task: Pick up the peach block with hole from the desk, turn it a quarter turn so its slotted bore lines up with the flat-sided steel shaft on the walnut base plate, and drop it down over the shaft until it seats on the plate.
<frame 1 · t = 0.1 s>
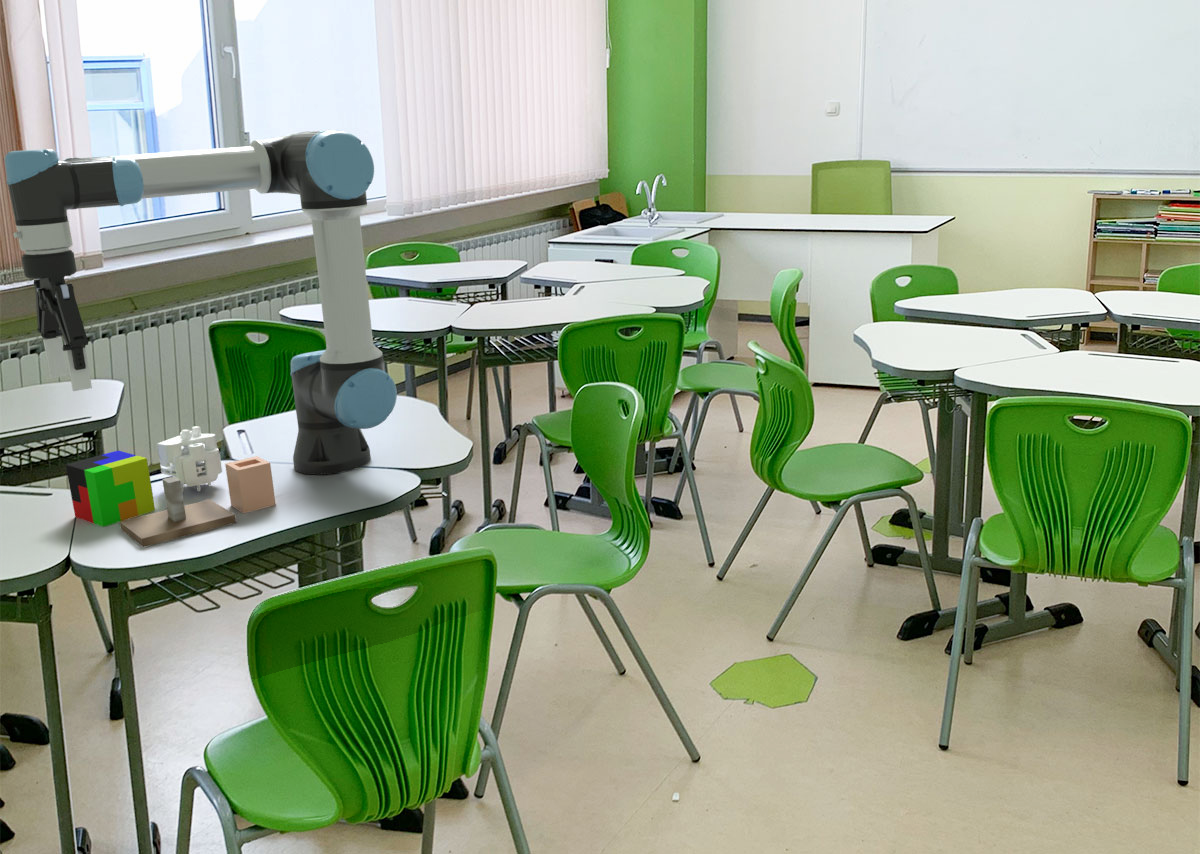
hand: (70, 383, 189), 28 cm above the table, fingers open, 13 cm apart
mechanical part: (194, 488, 224), on the table
shaft plate: (178, 526, 203), on the table
puzzle toy: (115, 515, 212), on the table
peach block with hole: (253, 505, 212), on the table
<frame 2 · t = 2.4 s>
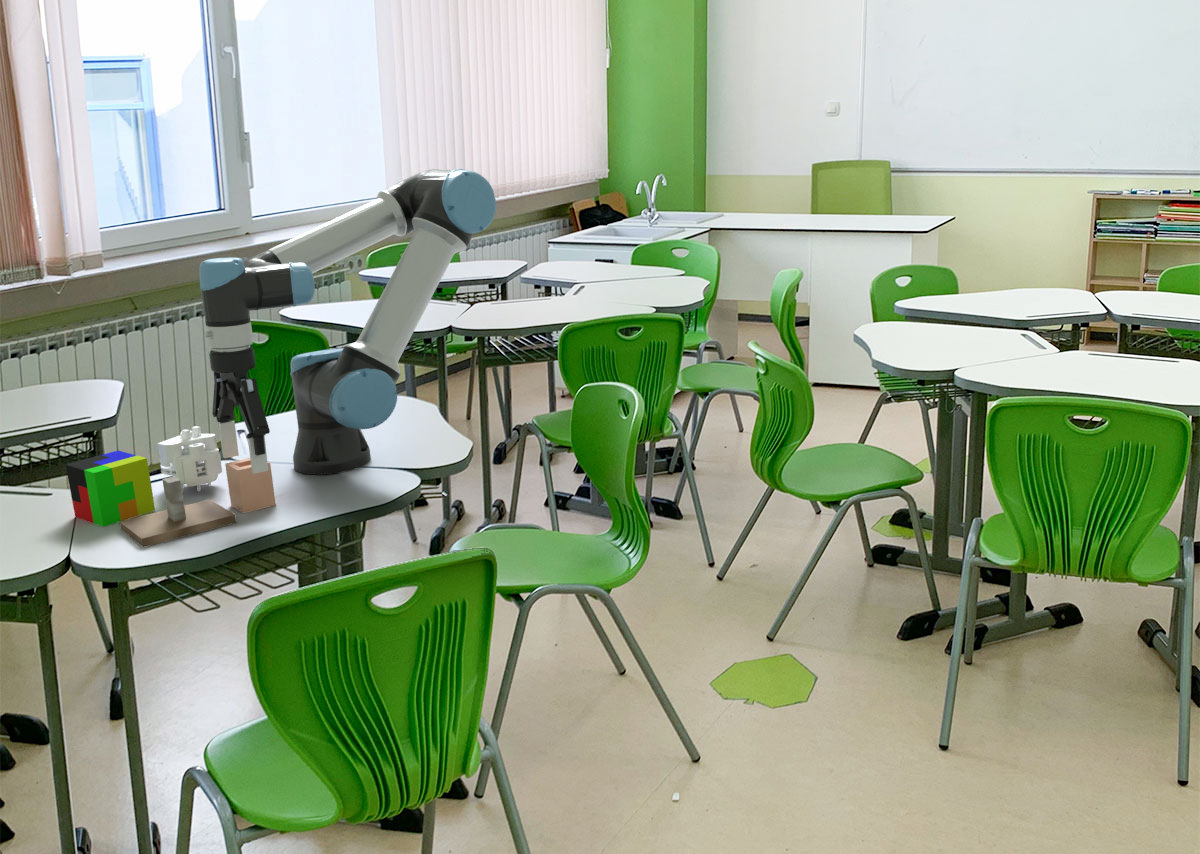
hand: (245, 464, 210), 8 cm above the table, fingers open, 13 cm apart
nothing on the table moved.
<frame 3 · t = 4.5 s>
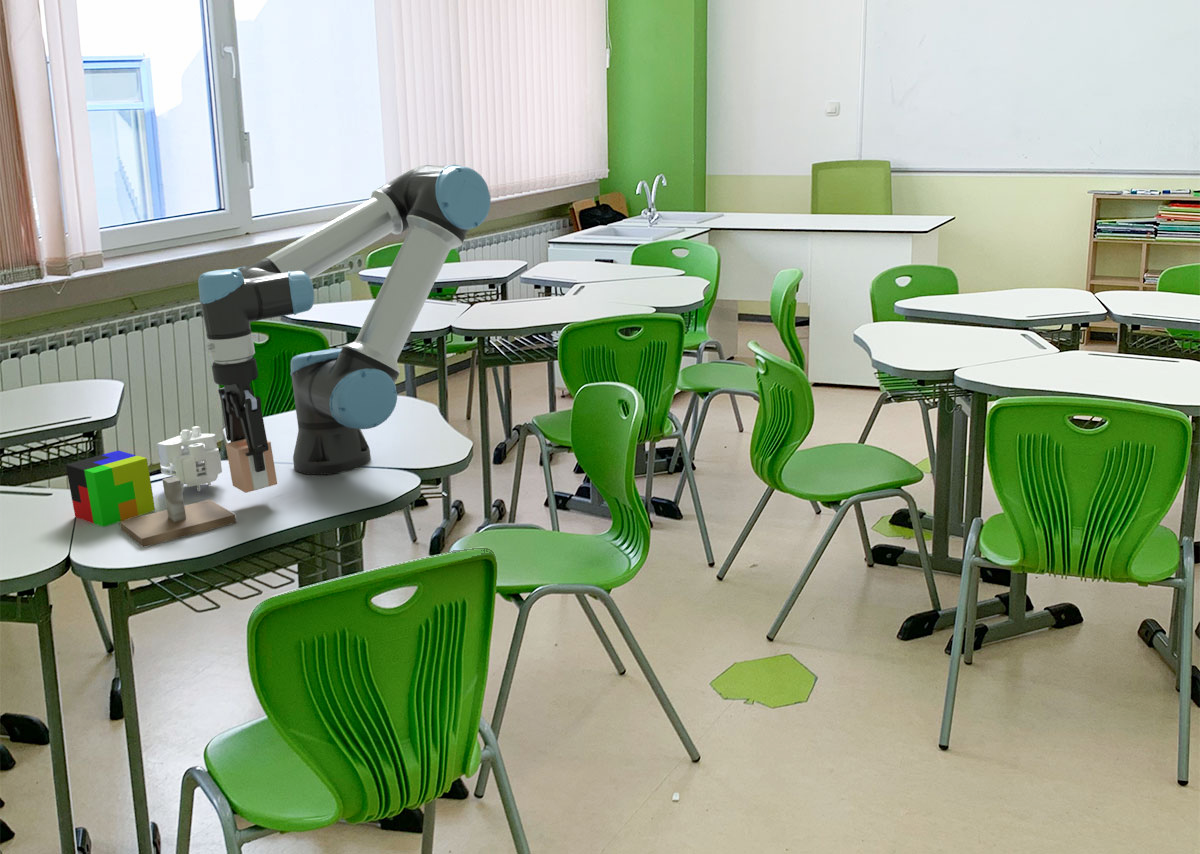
hand: (253, 483, 211), 4 cm above the table, fingers closed on peach block with hole, 6 cm apart
peach block with hole: (255, 484, 212), point 4 cm above the table, touching gripper
everything else where it was.
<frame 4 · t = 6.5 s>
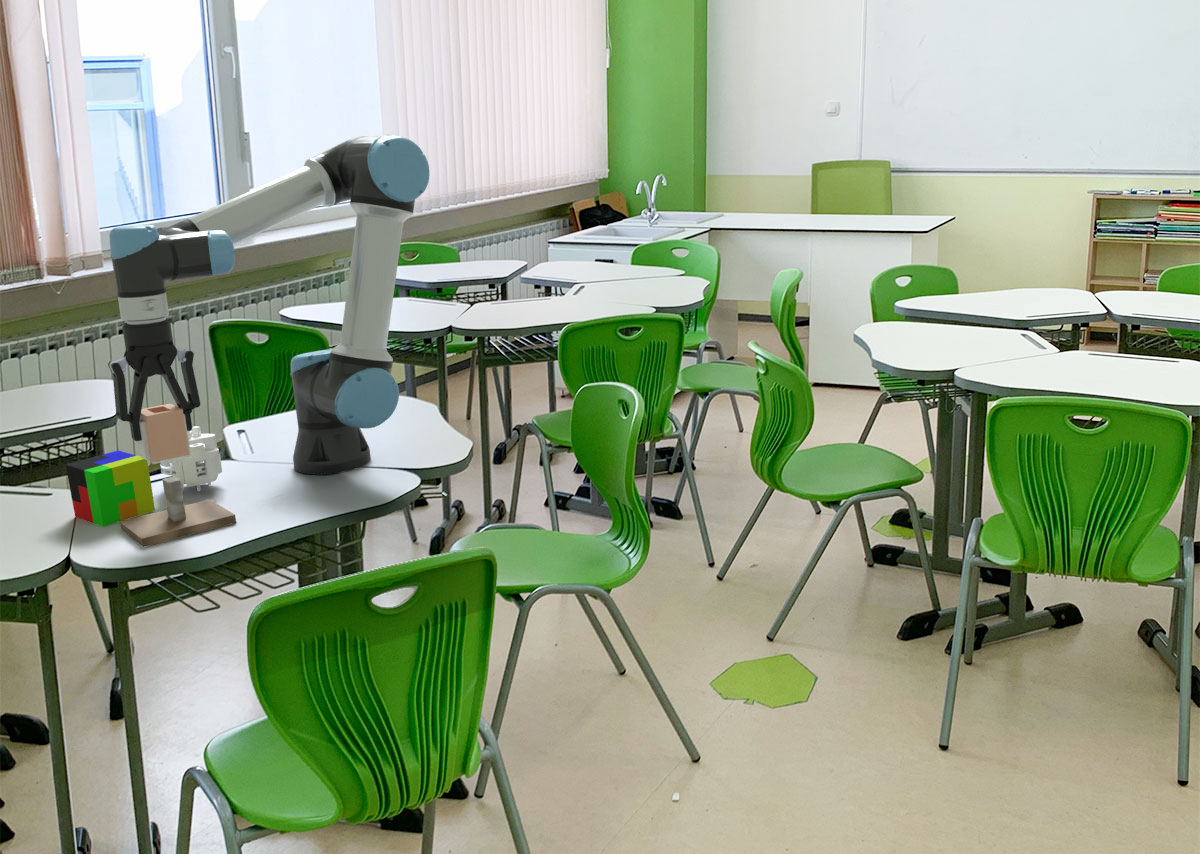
hand: (165, 453, 199), 13 cm above the table, fingers closed on peach block with hole, 6 cm apart
peach block with hole: (165, 455, 200), point 13 cm above the table, touching gripper
everything else where it was.
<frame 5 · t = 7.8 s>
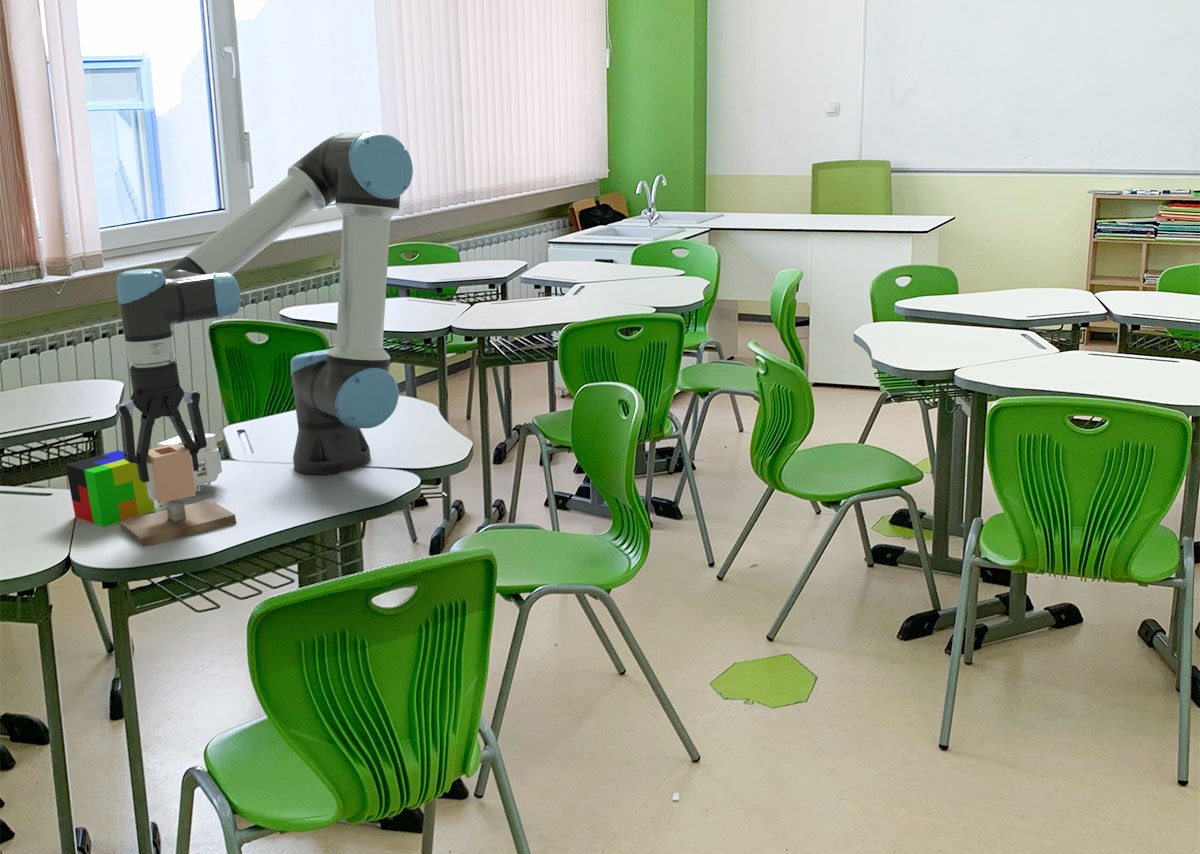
hand: (172, 493, 201), 6 cm above the table, fingers closed on peach block with hole, 6 cm apart
peach block with hole: (172, 495, 202), point 6 cm above the table, touching gripper
everything else where it was.
when the fingers open (4 cm above the table, at t = 8.6 s): peach block with hole drops 2 cm, resting on shaft plate.
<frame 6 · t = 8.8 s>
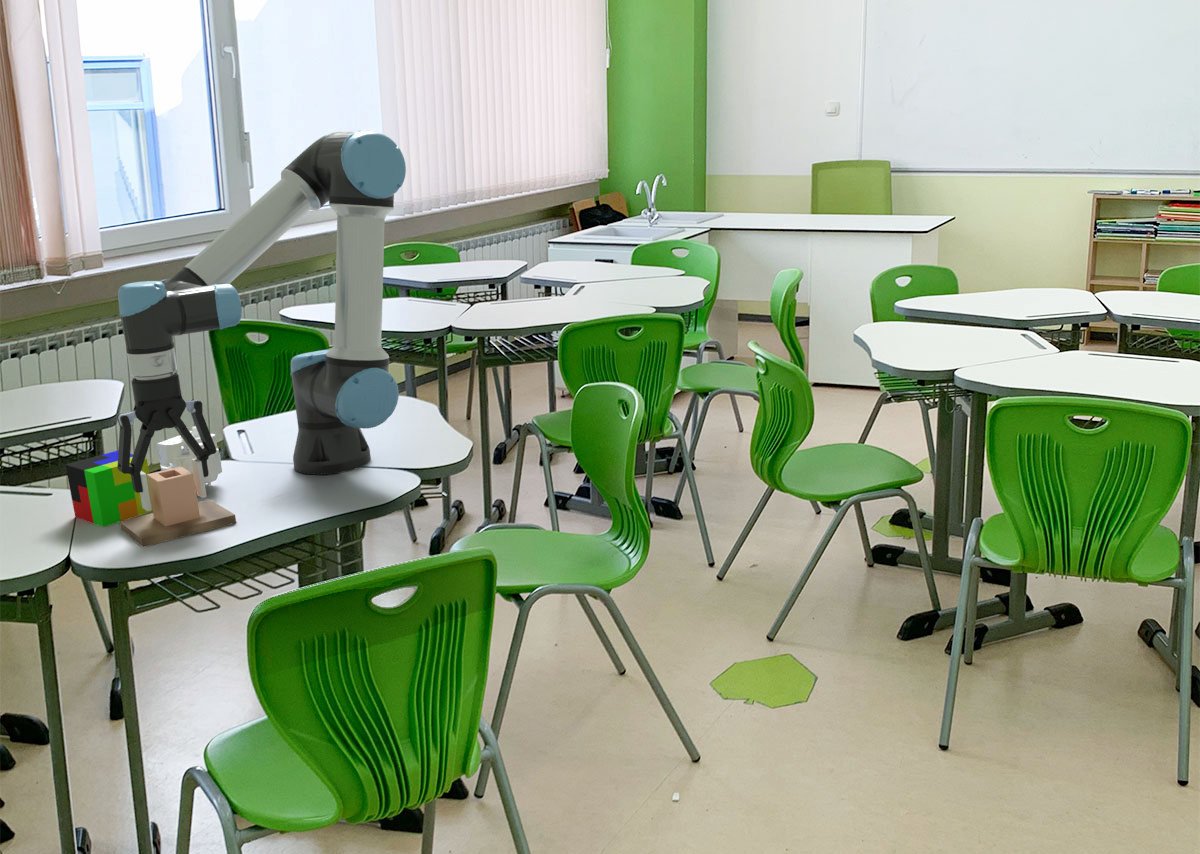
hand: (174, 502, 202), 4 cm above the table, fingers open, 9 cm apart
peach block with hole: (176, 517, 203), point 1 cm above the table, touching shaft plate
everything else where it was.
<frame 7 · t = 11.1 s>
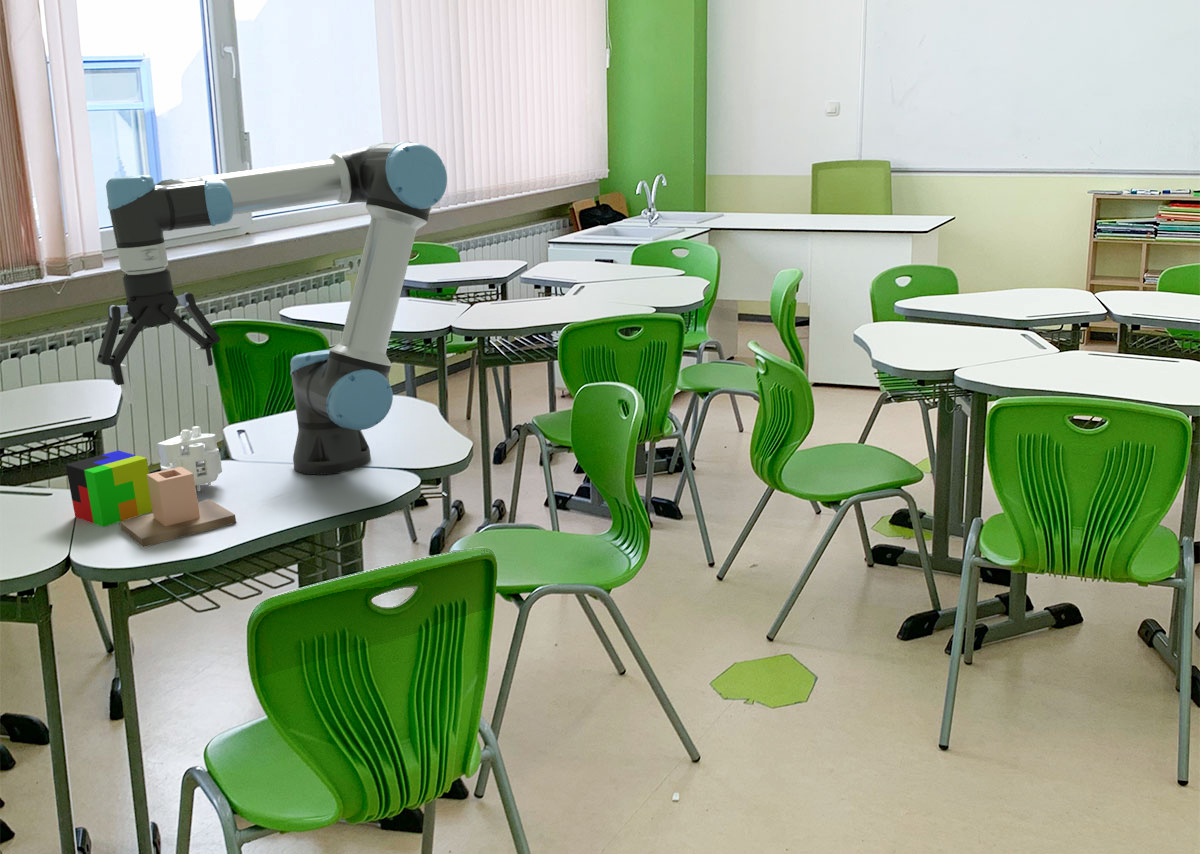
hand: (168, 393, 201), 23 cm above the table, fingers open, 13 cm apart
nothing on the table moved.
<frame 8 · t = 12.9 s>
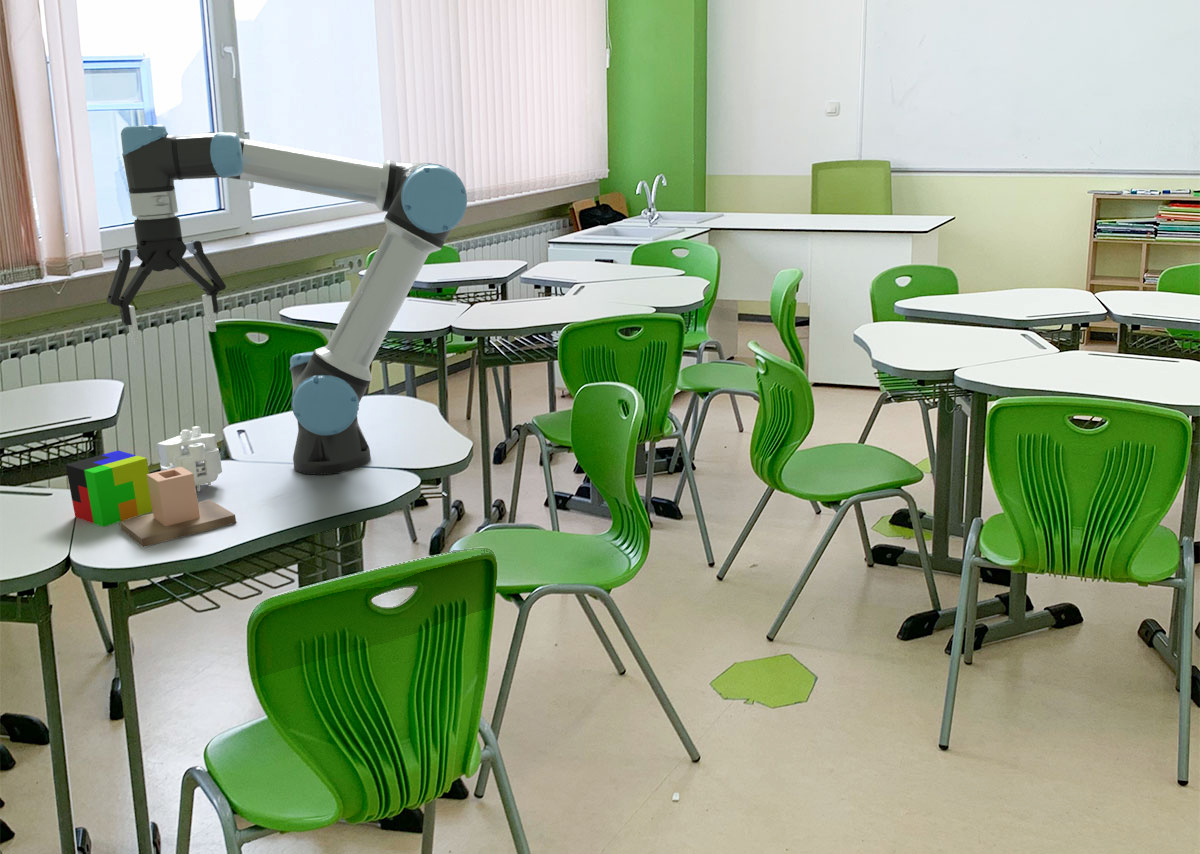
hand: (174, 337, 209), 31 cm above the table, fingers open, 13 cm apart
nothing on the table moved.
at the end: peach block with hole 0.2 cm off-centre on the shaft plate, point 1.5 cm above the shaft plate's base; peach block with hole tilted 0°; the gripper is holding nothing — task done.
